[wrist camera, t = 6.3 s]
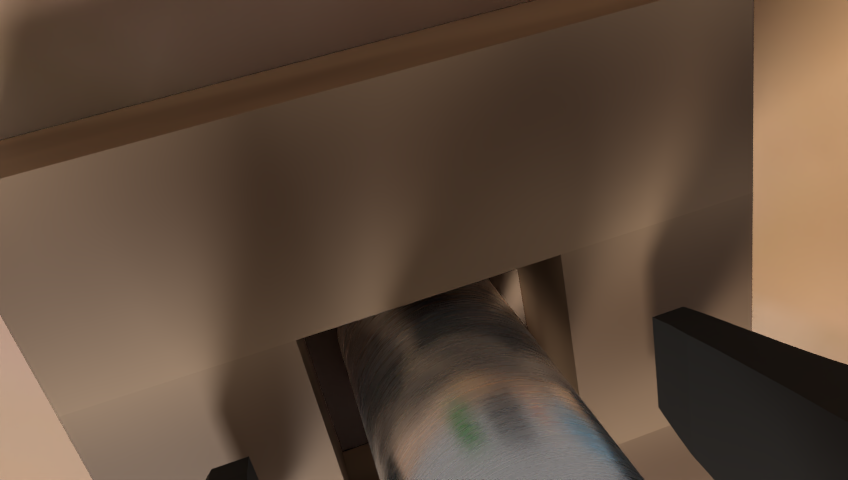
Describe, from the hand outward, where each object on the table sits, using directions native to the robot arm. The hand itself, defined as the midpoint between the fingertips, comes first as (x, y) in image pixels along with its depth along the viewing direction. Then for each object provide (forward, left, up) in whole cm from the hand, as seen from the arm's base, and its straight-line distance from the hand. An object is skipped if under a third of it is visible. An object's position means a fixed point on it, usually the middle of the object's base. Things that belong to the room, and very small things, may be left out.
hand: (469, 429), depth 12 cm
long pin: (0, 0, -3) cm, 3 cm away
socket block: (0, 0, -3) cm, 3 cm away
